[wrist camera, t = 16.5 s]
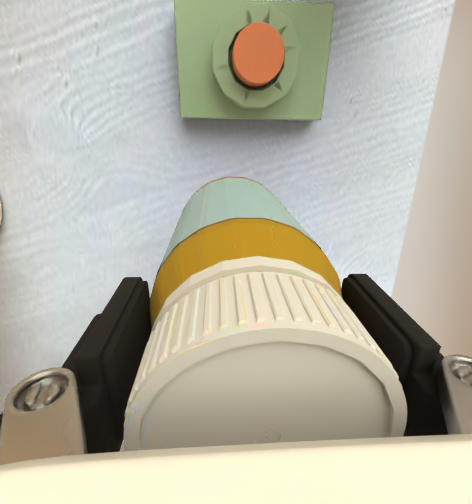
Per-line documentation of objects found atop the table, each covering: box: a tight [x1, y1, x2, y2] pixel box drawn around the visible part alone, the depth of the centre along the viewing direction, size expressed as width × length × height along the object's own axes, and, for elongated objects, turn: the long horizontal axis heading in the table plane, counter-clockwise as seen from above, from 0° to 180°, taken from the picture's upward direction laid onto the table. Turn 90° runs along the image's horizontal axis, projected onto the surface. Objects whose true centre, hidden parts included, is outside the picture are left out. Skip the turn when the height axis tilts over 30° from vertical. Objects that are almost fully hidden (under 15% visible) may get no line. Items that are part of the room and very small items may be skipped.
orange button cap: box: [232, 22, 284, 87], centre depth 21 cm, size 4×4×2 cm
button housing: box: [174, 0, 334, 121], centre depth 23 cm, size 12×8×4 cm, turn 89°
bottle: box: [124, 177, 407, 451], centre depth 13 cm, size 7×7×15 cm
